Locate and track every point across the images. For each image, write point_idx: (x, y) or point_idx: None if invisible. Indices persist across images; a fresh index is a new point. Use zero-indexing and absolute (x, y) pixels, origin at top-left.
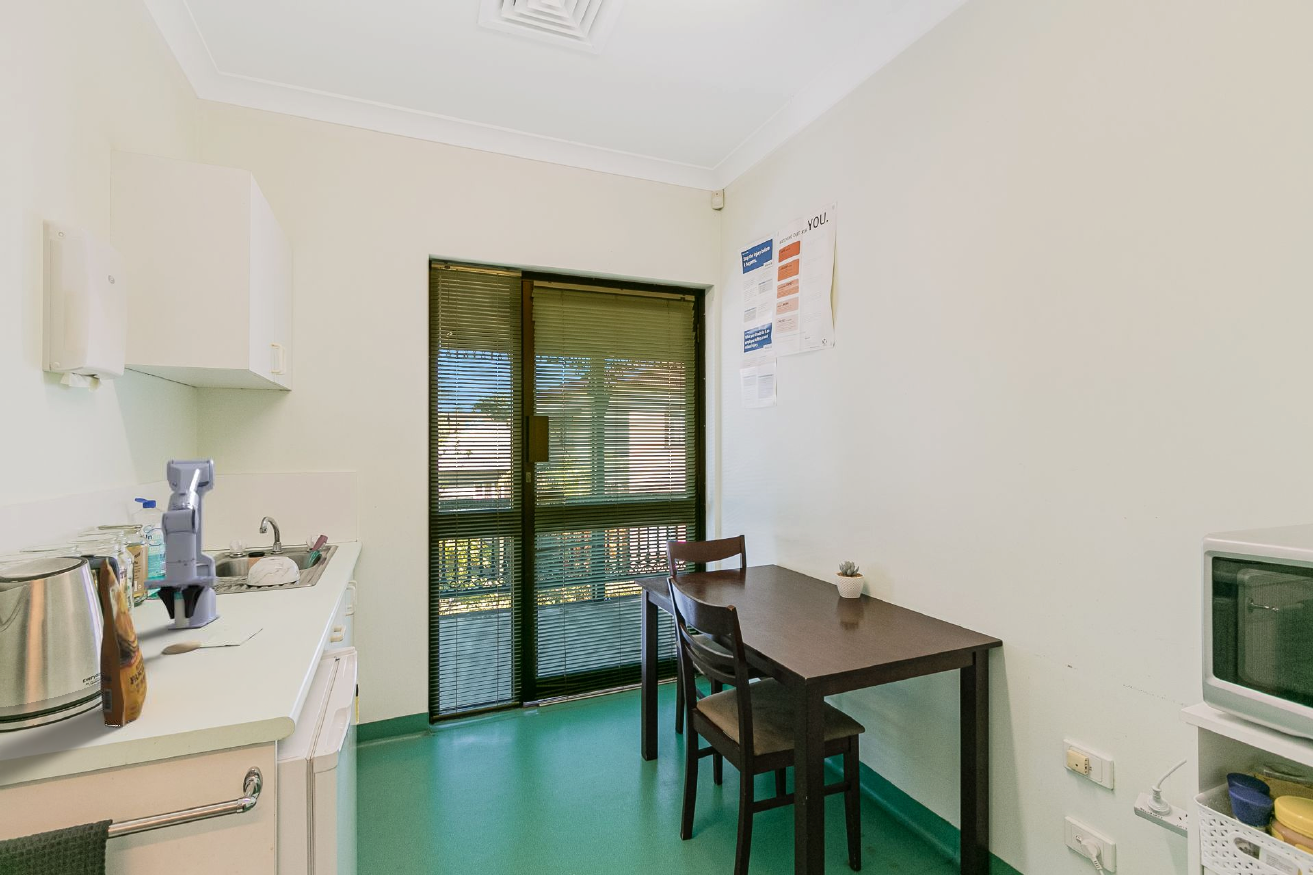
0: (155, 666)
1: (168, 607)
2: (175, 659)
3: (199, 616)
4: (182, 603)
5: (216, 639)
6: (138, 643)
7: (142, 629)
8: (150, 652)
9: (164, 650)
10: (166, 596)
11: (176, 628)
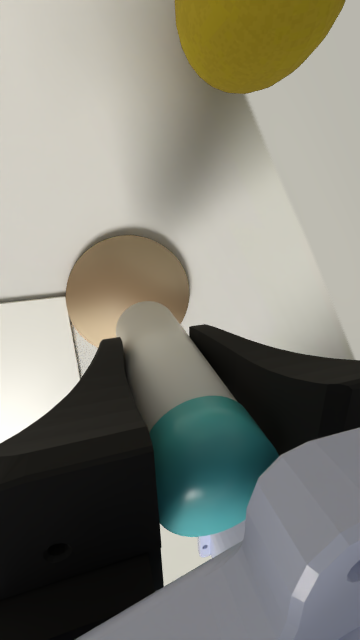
0: (94, 61)
1: (242, 344)
2: (63, 156)
3: None
4: (155, 388)
5: (53, 381)
6: (203, 6)
7: None
8: (224, 267)
9: (175, 262)
10: (310, 375)
11: None
